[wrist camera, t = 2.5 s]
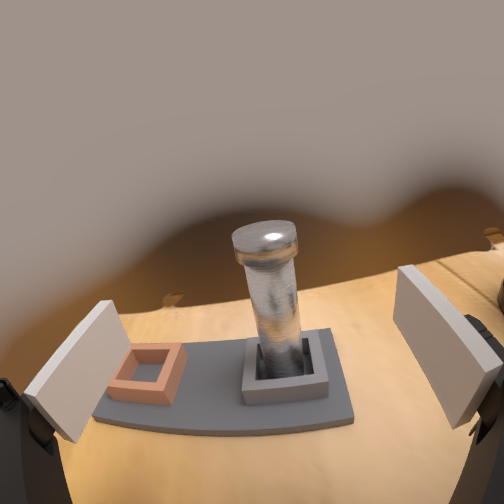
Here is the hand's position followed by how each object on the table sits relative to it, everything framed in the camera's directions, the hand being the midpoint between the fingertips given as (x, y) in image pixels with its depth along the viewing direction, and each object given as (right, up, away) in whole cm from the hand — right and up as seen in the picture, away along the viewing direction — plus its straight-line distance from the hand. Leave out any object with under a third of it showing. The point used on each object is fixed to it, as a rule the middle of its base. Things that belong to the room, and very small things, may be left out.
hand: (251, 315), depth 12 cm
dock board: (-4, -12, +17) cm, 21 cm away
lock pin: (+4, -10, +16) cm, 19 cm away
